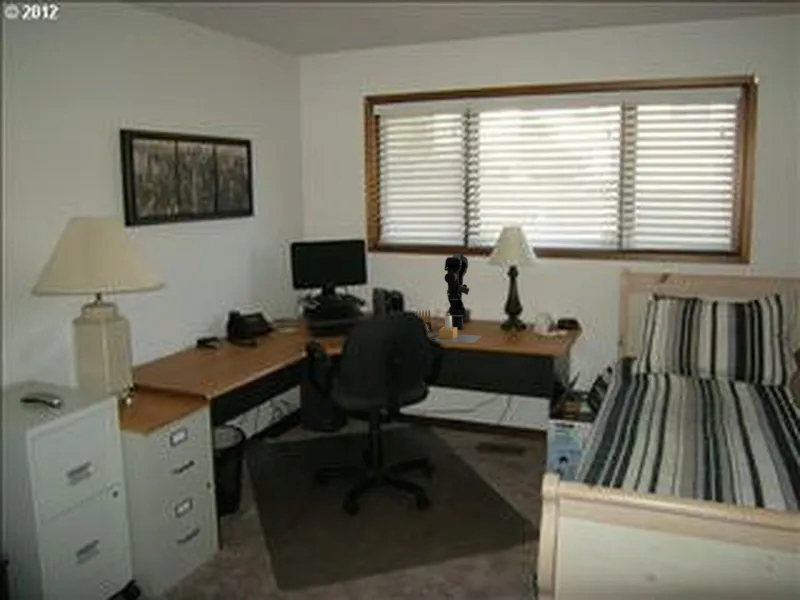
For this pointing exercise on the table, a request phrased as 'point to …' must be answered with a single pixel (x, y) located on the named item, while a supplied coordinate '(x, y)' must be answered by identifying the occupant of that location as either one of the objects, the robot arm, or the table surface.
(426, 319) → the ammunition clip
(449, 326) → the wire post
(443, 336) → the plate
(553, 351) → the table surface
